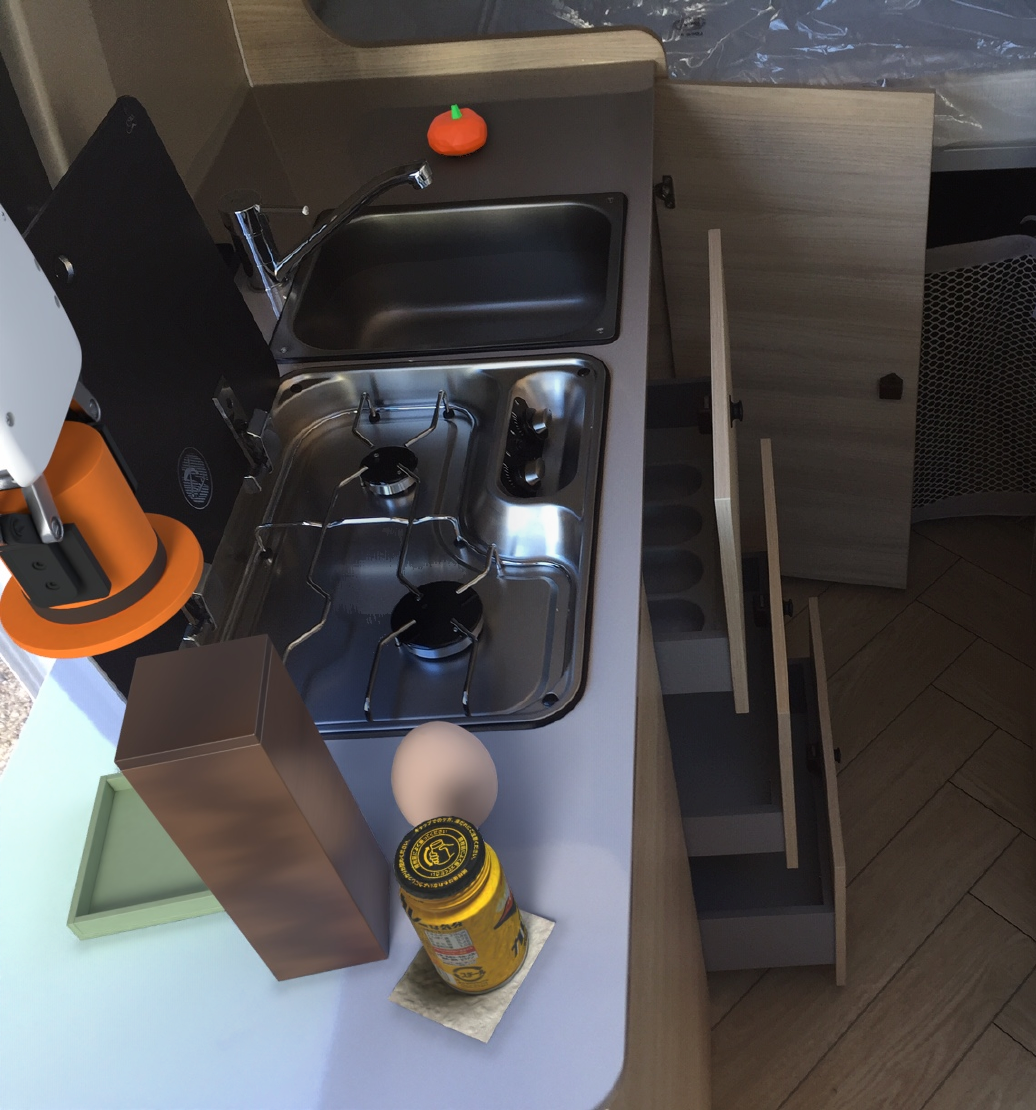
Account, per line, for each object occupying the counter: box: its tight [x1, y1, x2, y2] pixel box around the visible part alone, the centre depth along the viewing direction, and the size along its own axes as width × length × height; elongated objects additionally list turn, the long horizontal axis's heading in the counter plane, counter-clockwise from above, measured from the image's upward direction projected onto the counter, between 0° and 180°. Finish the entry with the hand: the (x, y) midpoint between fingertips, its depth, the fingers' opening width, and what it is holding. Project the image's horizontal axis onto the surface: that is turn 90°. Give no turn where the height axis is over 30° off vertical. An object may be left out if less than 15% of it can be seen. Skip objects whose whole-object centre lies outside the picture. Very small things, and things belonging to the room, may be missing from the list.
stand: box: [113, 633, 391, 982], centre depth 71 cm, size 7×7×24 cm
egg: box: [390, 720, 499, 829], centre depth 81 cm, size 7×7×10 cm
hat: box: [0, 421, 204, 660], centre depth 54 cm, size 9×9×8 cm
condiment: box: [387, 816, 556, 1044], centre depth 73 cm, size 7×8×12 cm
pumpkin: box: [426, 103, 488, 158], centre depth 156 cm, size 7×8×6 cm
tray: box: [65, 771, 226, 941], centre depth 84 cm, size 12×12×2 cm
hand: (89, 543), depth 55 cm, fingers closed on hat, 6 cm apart
